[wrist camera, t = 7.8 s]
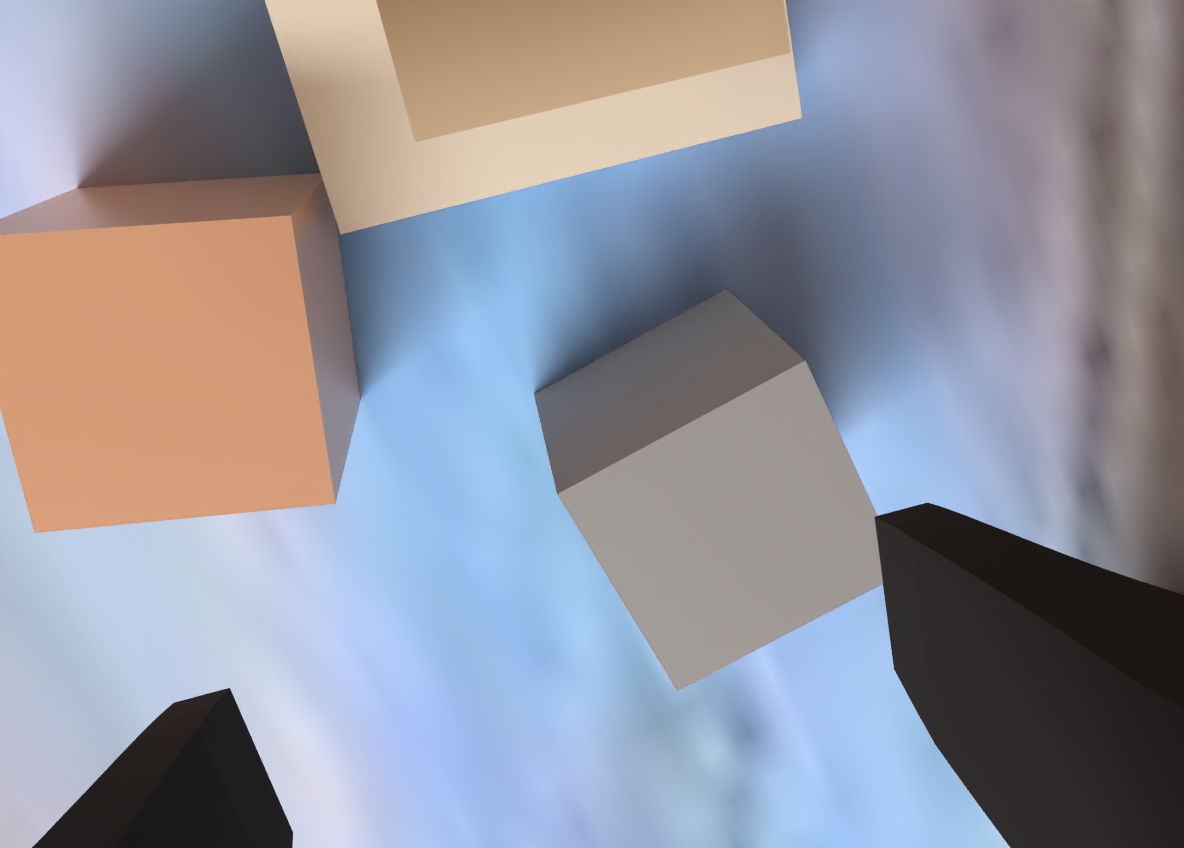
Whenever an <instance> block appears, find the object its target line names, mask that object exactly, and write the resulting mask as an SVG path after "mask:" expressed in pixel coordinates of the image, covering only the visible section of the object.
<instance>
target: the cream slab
mask: <svg viewBox="0 0 1184 848" xmlns="http://www.w3.org/2000/svg"><path fill="white" fill-rule="evenodd" d="M265 3H266V6H267V9H268V12H269V15H270V18H271V21H272V24H273V27H274V31H275V34H276V37H277V40H278V43H279V46H280V49H281V52H282V55H283V58H284V61H285V65H286V68H287V71H288V74H289V77H290V80H291V83H292V86H293V89H294V92H295V95H296V98H297V102H298V105H299V108H300V111H301V114H302V117H303V120H304V123H305V126H306V129H307V132H308V135H309V139H310V142H311V145H312V148H313V151H314V154H315V157H316V160H317V163H318V166H319V169H320V172H321V176H322V179H323V182H324V185H325V188H326V191H327V194H328V197H329V200H330V203H331V206H332V209H333V213H334V216H335V219H336V222H337V225H338V228H339V231H340V234H345V233H349V232H353V231H357V230H361V229H365V228H368V227H372V226H376V225H380V224H384V223H388V222H392V221H396V220H400V219H404V218H408V217H412V216H416V215H420V214H424V213H428V212H432V211H436V210H440V209H444V208H448V207H452V206H456V205H460V204H464V203H467V202H471V201H475V200H479V199H483V198H487V197H491V196H495V195H499V194H503V193H507V192H511V191H515V190H519V189H523V188H527V187H531V186H535V185H539V184H543V183H547V182H551V181H555V180H559V179H563V178H567V177H570V176H574V175H578V174H582V173H586V172H590V171H594V170H598V169H602V168H606V167H610V166H614V165H618V164H622V163H626V162H630V161H634V160H638V159H642V158H646V157H650V156H654V155H658V154H662V153H666V152H670V151H673V150H677V149H681V148H685V147H689V146H693V145H697V144H701V143H705V142H709V141H713V140H717V139H721V138H725V137H729V136H733V135H737V134H741V133H745V132H749V131H753V130H757V129H761V128H765V127H769V126H772V125H776V124H780V123H784V122H788V121H792V120H796V119H800V118H802V114H801V106H800V99H799V92H798V85H797V78H796V71H795V64H794V57H793V50H792V43H791V36H790V29H789V22H788V15H787V8H786V0H784V6H785V14H786V21H787V29H788V36H789V44H790V51H791V53H788V54H783V55H779V56H775V57H771V58H767V59H762V60H758V61H754V62H750V63H746V64H741V65H737V66H733V67H729V68H725V69H720V70H716V71H712V72H708V73H704V74H700V75H695V76H691V77H687V78H683V79H679V80H674V81H670V82H666V83H662V84H658V85H653V86H649V87H645V88H641V89H637V90H632V91H628V92H624V93H620V94H616V95H611V96H607V97H603V98H599V99H595V100H590V101H586V102H582V103H578V104H574V105H569V106H565V107H561V108H557V109H553V110H548V111H544V112H540V113H536V114H532V115H527V116H523V117H519V118H515V119H511V120H507V121H502V122H498V123H494V124H490V125H486V126H481V127H477V128H473V129H469V130H465V131H460V132H456V133H452V134H448V135H444V136H439V137H435V138H431V139H427V140H423V141H418V142H415V140H414V136H413V133H412V129H411V125H410V122H409V118H408V115H407V111H406V107H405V104H404V100H403V96H402V93H401V89H400V86H399V82H398V78H397V75H396V71H395V67H394V64H393V60H392V57H391V53H390V49H389V46H388V42H387V38H386V35H385V31H384V28H383V24H382V20H381V17H380V13H379V9H378V6H377V2H376V0H265Z"/></svg>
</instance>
